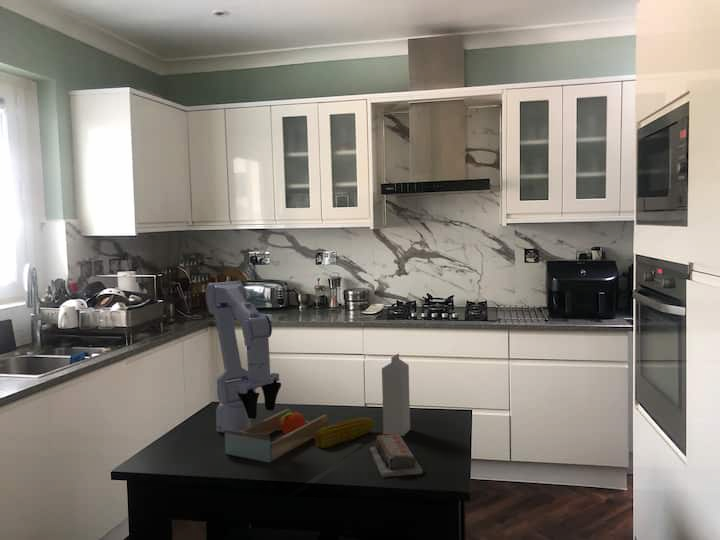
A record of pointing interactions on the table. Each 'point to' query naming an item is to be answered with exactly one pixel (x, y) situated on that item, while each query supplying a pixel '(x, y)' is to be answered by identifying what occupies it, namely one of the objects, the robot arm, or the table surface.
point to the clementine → (291, 422)
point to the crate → (291, 438)
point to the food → (343, 431)
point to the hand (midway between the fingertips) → (261, 414)
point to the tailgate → (247, 445)
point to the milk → (396, 397)
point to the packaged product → (394, 456)
